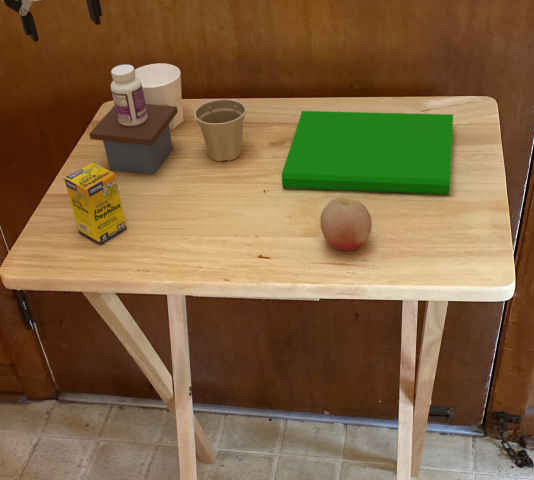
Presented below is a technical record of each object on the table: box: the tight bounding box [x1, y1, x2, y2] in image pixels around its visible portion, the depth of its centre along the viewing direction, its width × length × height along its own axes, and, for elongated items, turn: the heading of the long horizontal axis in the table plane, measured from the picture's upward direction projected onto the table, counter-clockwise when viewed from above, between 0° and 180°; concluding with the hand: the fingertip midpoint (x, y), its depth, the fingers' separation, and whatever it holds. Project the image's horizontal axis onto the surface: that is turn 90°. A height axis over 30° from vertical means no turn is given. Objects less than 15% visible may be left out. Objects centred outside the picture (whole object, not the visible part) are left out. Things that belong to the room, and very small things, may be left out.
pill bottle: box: [110, 64, 148, 126], centre depth 143 cm, size 5×5×10 cm
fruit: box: [319, 197, 373, 252], centre depth 125 cm, size 8×8×8 cm
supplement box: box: [63, 161, 128, 246], centre depth 132 cm, size 6×6×11 cm
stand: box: [88, 104, 178, 175], centre depth 149 cm, size 12×12×8 cm
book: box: [281, 110, 454, 196], centre depth 145 cm, size 22×28×3 cm
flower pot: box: [193, 98, 247, 162], centre depth 148 cm, size 9×9×9 cm
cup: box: [134, 62, 184, 131], centre depth 158 cm, size 10×10×10 cm
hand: (65, 30), depth 122 cm, fingers open, 9 cm apart
